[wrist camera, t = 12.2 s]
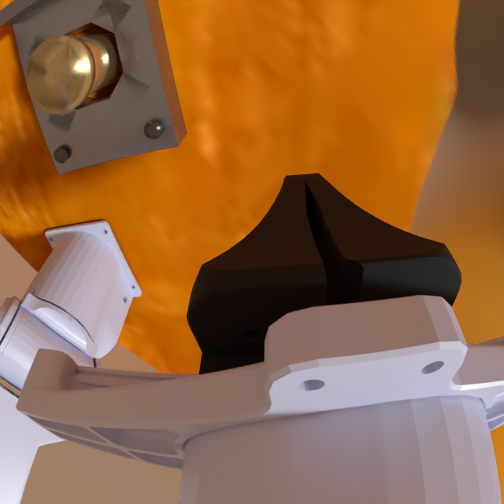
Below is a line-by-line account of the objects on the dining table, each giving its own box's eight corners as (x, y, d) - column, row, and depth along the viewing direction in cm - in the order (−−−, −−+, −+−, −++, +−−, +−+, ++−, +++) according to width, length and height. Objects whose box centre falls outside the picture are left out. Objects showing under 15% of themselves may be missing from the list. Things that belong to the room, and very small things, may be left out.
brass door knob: (140, 76, 18) (100, 97, 13) (87, 97, 19) (40, 125, 14) (124, 19, 15) (77, 21, 10) (70, 44, 16) (17, 59, 11)
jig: (186, 133, 21) (171, 155, 18) (73, 160, 22) (48, 184, 19) (148, -48, 12) (124, -60, 9) (30, 8, 13) (-4, 13, 10)
